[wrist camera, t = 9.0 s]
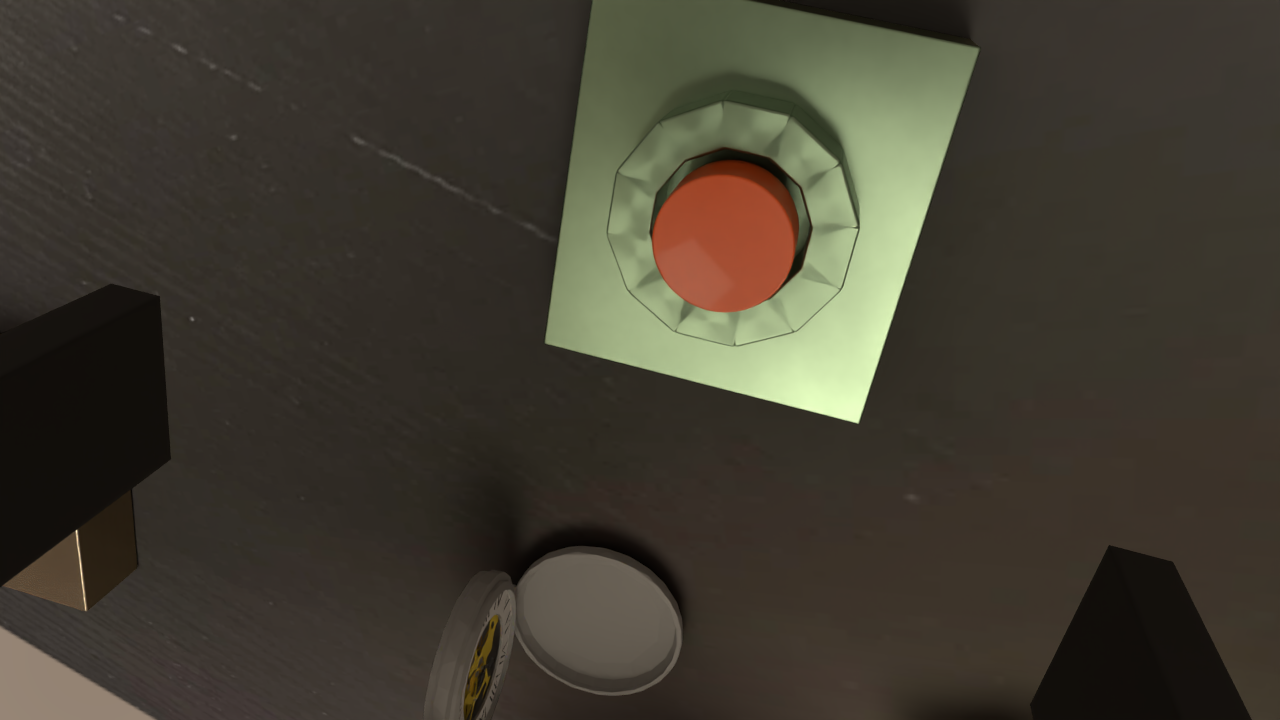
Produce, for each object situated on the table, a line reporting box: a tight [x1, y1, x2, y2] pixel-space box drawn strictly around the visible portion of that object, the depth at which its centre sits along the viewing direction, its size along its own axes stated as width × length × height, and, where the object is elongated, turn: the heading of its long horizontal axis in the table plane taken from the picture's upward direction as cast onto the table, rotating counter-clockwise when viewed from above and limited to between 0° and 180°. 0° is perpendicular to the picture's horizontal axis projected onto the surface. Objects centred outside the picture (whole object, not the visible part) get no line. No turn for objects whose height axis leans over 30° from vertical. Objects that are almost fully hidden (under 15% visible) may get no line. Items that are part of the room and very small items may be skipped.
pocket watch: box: [423, 546, 683, 720], centre depth 31 cm, size 8×8×10 cm
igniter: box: [544, 0, 981, 424], centre depth 26 cm, size 11×10×4 cm
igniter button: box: [652, 160, 799, 313], centre depth 24 cm, size 4×4×2 cm
